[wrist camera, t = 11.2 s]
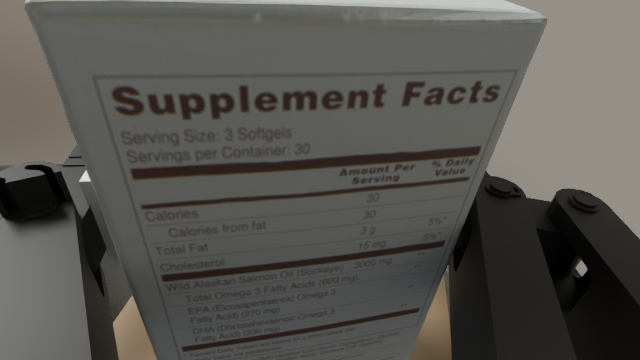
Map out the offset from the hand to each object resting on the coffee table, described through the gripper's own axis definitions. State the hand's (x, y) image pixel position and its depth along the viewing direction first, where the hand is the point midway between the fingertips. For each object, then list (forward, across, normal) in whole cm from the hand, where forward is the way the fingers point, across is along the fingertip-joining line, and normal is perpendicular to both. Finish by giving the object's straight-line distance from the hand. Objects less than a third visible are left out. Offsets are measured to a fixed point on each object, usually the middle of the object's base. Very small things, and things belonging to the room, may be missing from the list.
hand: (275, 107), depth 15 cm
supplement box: (-5, 0, -7) cm, 9 cm away
